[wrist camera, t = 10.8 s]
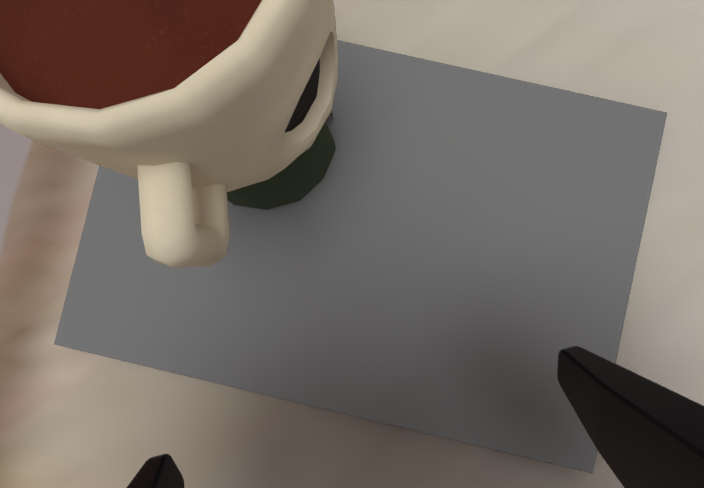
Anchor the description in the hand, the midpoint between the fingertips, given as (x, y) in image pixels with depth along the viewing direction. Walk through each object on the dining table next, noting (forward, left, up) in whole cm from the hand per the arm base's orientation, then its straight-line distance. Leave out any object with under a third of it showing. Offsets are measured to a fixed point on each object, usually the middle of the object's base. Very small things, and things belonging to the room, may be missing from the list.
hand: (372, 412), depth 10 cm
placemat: (+1, -5, -10) cm, 11 cm away
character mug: (+6, -7, -9) cm, 14 cm away
